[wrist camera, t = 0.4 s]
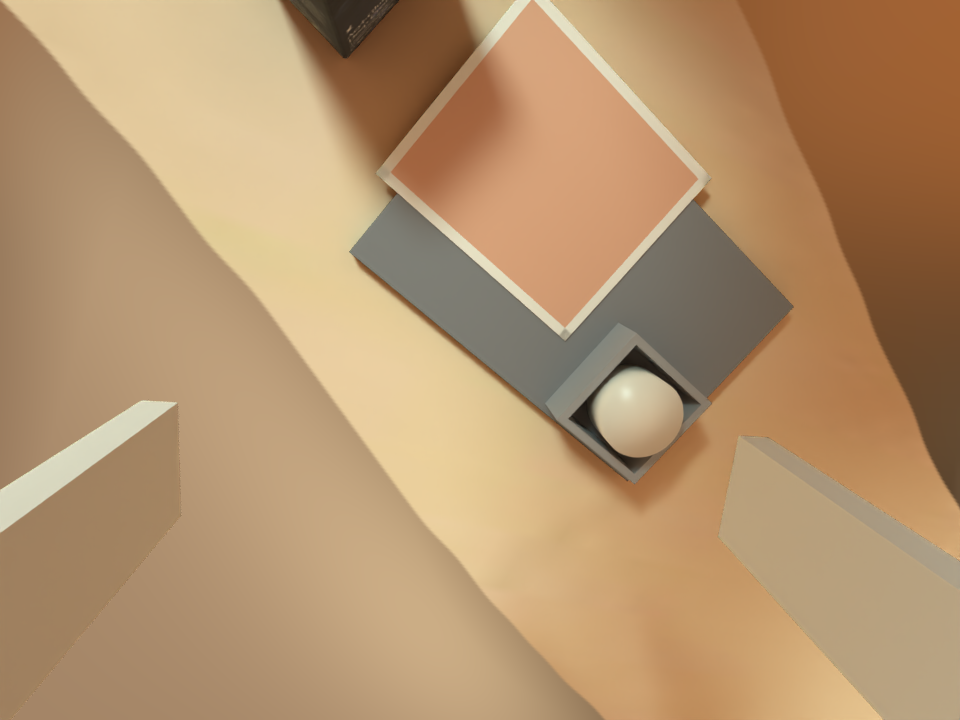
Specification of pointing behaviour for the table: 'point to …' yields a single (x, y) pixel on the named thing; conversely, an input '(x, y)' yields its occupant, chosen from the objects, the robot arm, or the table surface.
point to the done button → (635, 411)
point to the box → (344, 19)
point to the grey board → (565, 232)
